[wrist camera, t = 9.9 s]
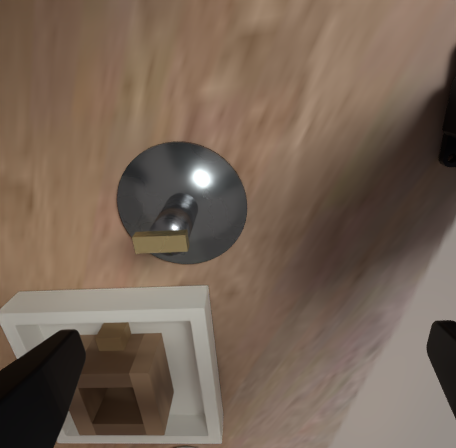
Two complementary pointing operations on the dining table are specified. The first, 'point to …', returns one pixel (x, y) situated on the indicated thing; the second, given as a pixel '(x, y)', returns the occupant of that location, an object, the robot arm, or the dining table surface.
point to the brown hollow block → (123, 384)
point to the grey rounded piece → (182, 203)
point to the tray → (139, 323)
